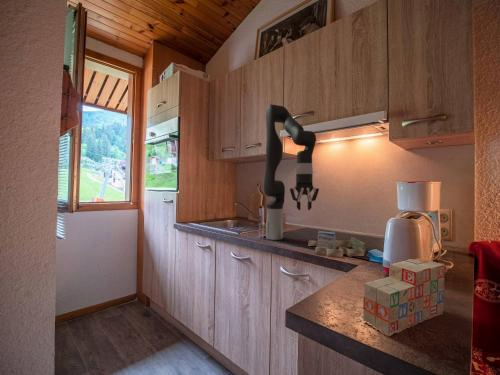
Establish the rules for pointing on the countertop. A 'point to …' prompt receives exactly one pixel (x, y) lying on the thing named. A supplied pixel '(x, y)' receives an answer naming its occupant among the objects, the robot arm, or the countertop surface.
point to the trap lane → (341, 248)
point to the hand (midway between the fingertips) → (303, 209)
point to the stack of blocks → (404, 294)
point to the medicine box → (327, 239)
